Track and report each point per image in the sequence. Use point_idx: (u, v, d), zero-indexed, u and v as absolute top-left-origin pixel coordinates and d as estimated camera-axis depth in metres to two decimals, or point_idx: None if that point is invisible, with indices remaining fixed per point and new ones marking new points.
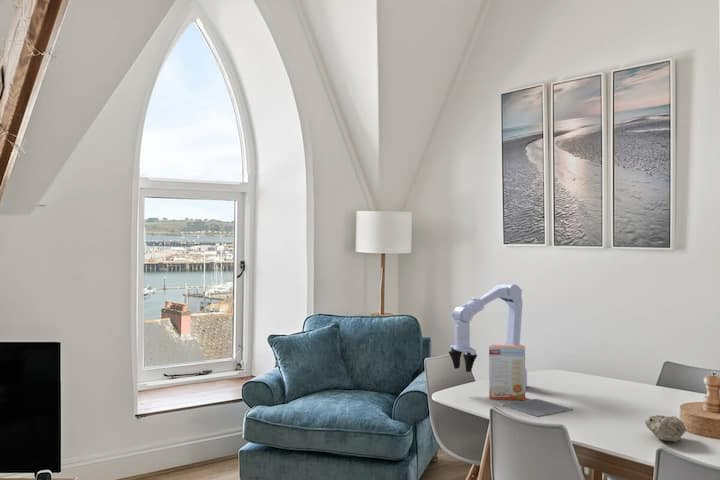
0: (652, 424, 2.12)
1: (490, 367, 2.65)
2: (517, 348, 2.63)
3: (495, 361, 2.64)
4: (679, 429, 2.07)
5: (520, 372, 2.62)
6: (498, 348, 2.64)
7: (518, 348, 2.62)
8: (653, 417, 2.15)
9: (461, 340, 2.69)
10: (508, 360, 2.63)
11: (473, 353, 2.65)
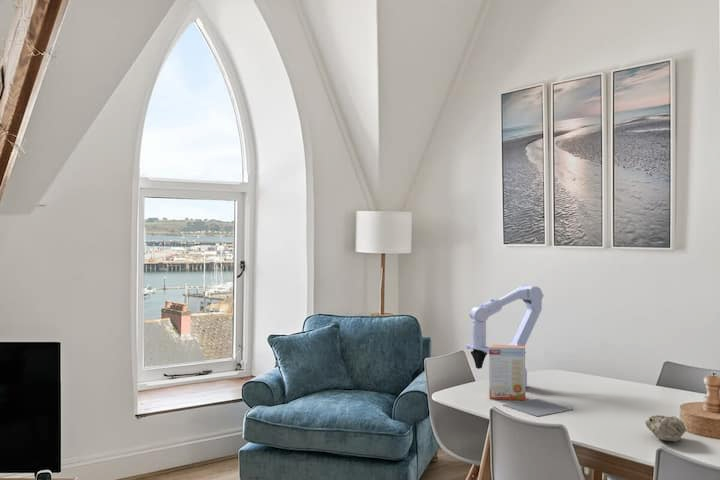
0: (652, 424, 2.12)
1: (490, 367, 2.65)
2: (517, 348, 2.63)
3: (495, 361, 2.64)
4: (679, 429, 2.07)
5: (520, 372, 2.62)
6: (498, 348, 2.64)
7: (518, 348, 2.62)
8: (653, 417, 2.15)
9: (478, 339, 2.78)
10: (508, 360, 2.63)
11: None
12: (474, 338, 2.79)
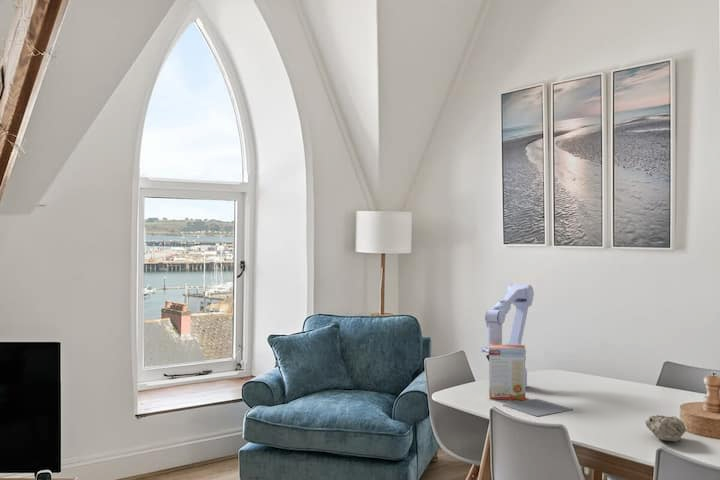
0: (652, 424, 2.12)
1: (490, 367, 2.64)
2: (517, 349, 2.61)
3: (495, 362, 2.63)
4: (679, 429, 2.07)
5: (520, 372, 2.62)
6: (498, 349, 2.63)
7: (518, 349, 2.61)
8: (653, 417, 2.15)
9: (494, 342, 2.69)
10: (508, 360, 2.62)
11: None
12: (490, 341, 2.70)
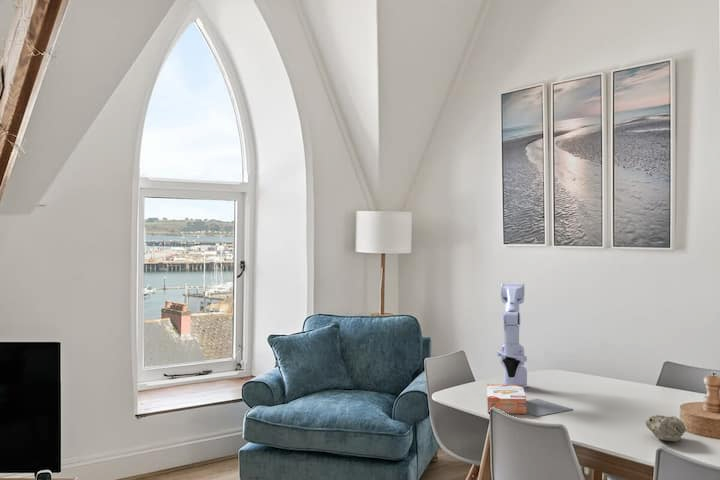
0: (652, 424, 2.12)
1: None
2: None
3: None
4: (679, 429, 2.07)
5: None
6: None
7: None
8: (653, 417, 2.15)
9: (511, 346, 2.61)
10: None
11: (524, 360, 2.57)
12: (507, 345, 2.62)
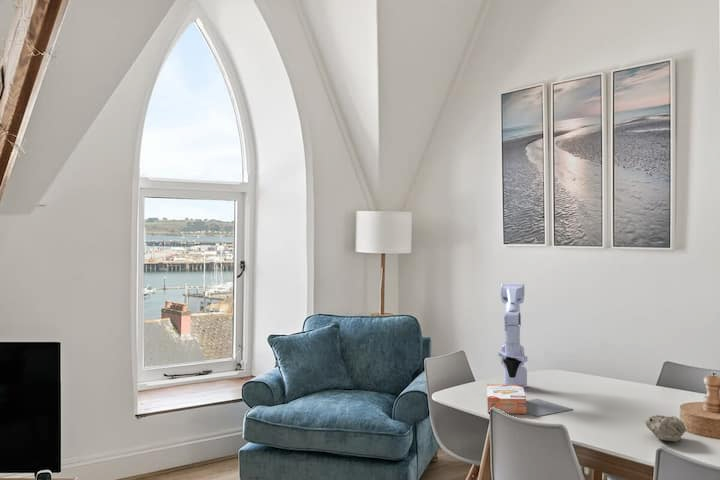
0: (652, 424, 2.12)
1: None
2: None
3: None
4: (679, 429, 2.07)
5: None
6: None
7: None
8: (653, 417, 2.15)
9: (512, 346, 2.61)
10: None
11: (524, 360, 2.57)
12: (507, 345, 2.62)
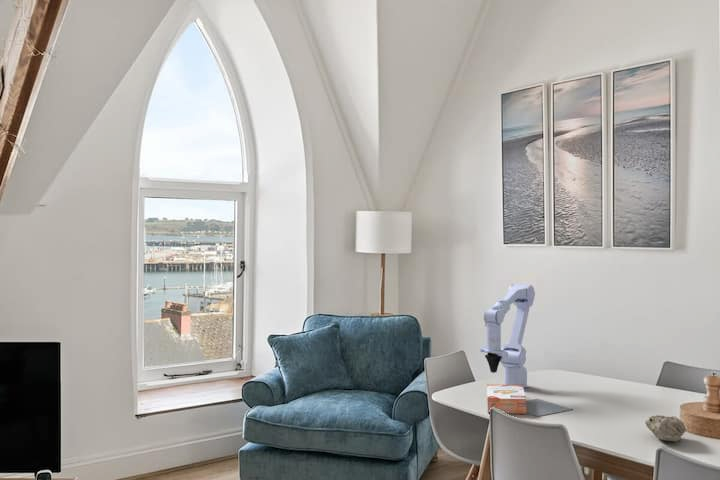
0: (652, 424, 2.12)
1: None
2: None
3: None
4: (679, 429, 2.07)
5: None
6: None
7: None
8: (653, 417, 2.15)
9: (493, 342, 2.70)
10: None
11: (505, 355, 2.66)
12: (489, 341, 2.71)
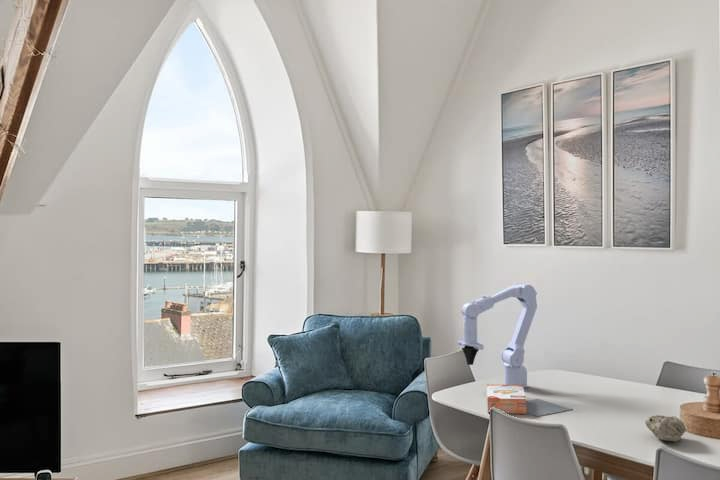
0: (652, 424, 2.12)
1: None
2: None
3: None
4: (679, 429, 2.07)
5: None
6: None
7: None
8: (653, 417, 2.15)
9: (469, 335, 2.78)
10: None
11: (480, 348, 2.74)
12: (465, 334, 2.79)
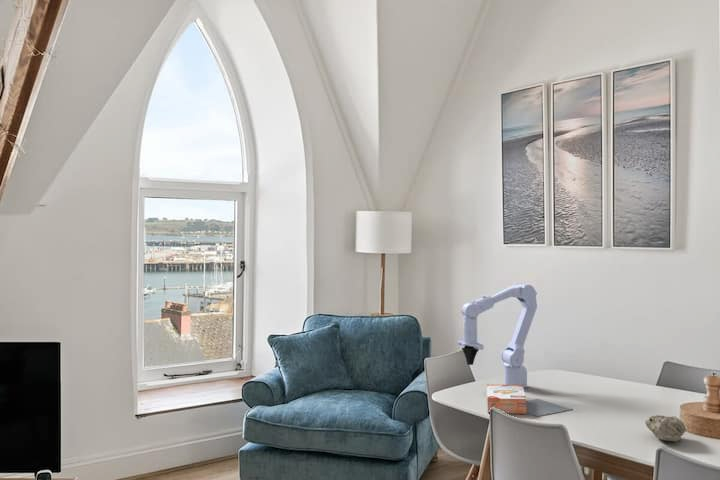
0: (652, 424, 2.12)
1: None
2: None
3: None
4: (679, 429, 2.07)
5: None
6: None
7: None
8: (653, 417, 2.15)
9: (469, 335, 2.78)
10: None
11: (480, 348, 2.74)
12: (465, 334, 2.79)
